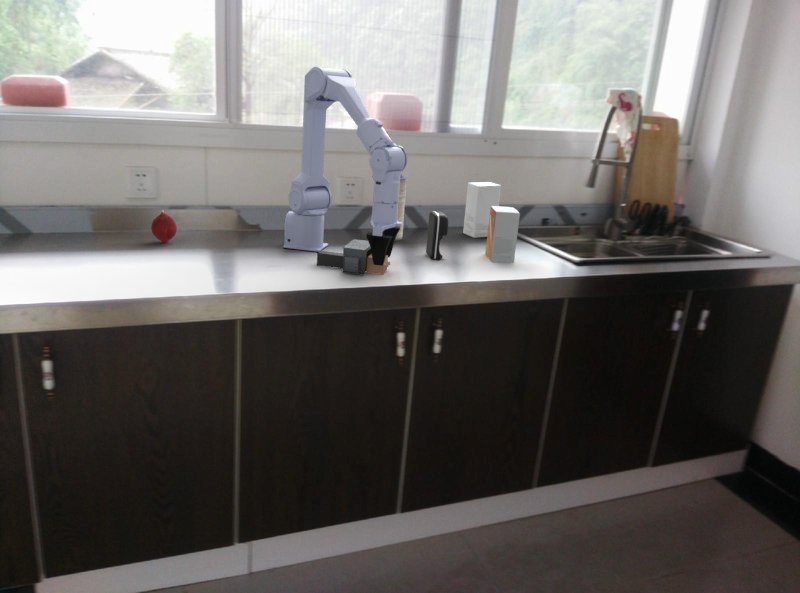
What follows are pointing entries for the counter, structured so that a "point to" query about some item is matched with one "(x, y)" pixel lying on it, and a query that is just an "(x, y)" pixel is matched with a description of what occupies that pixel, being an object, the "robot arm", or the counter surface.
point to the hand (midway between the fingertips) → (381, 260)
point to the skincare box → (480, 207)
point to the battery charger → (436, 233)
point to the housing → (355, 256)
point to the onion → (164, 227)
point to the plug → (337, 262)
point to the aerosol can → (401, 206)
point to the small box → (502, 234)
